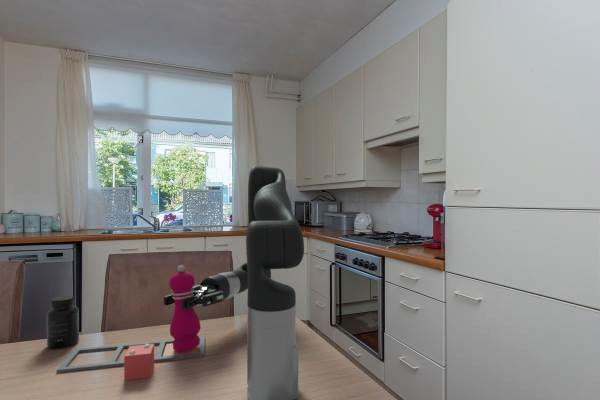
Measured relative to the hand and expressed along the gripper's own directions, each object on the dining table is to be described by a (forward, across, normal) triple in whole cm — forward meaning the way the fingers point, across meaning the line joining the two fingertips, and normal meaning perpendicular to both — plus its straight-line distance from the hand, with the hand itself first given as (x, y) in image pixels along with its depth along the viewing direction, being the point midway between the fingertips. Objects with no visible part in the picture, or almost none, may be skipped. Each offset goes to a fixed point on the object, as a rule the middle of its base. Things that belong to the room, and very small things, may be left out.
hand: (173, 303), depth 84 cm
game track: (+4, -7, +12) cm, 15 cm away
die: (+10, +1, +12) cm, 16 cm away
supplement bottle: (+10, -29, +12) cm, 33 cm away
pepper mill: (-3, +1, +11) cm, 12 cm away
